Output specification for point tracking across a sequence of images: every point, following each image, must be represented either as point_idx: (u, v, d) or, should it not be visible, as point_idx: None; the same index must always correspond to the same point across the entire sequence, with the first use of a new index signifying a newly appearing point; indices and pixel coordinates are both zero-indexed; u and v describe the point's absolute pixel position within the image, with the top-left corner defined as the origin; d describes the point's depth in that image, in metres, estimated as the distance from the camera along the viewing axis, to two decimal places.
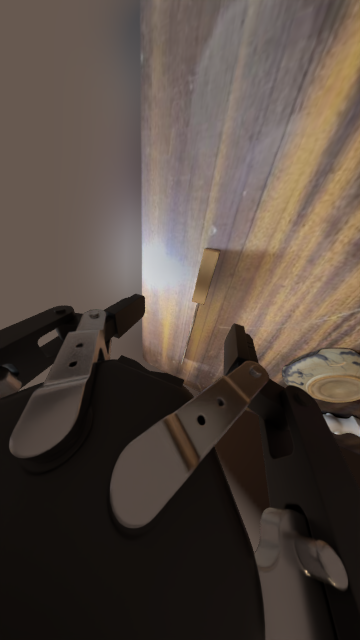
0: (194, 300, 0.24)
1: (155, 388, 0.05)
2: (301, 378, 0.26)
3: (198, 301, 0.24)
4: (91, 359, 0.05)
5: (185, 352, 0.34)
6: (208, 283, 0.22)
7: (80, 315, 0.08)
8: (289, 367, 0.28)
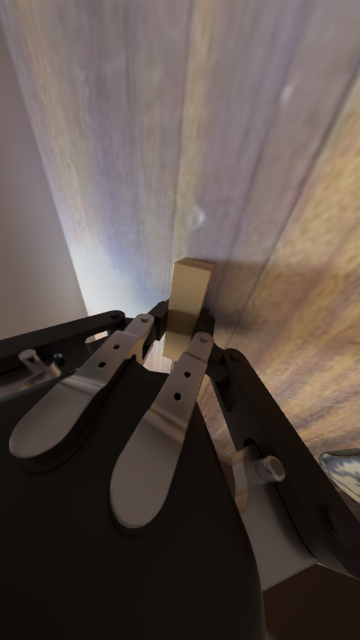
0: (166, 355, 0.13)
1: (155, 388, 0.05)
2: None
3: (174, 357, 0.12)
4: (116, 366, 0.05)
5: None
6: (190, 332, 0.10)
7: (128, 319, 0.09)
8: (338, 460, 0.16)
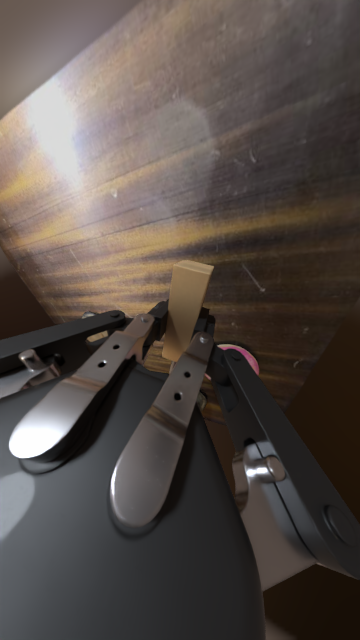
0: (166, 356, 0.13)
1: (155, 388, 0.05)
2: None
3: (173, 358, 0.13)
4: (116, 366, 0.05)
5: None
6: (189, 333, 0.10)
7: (128, 319, 0.09)
8: (89, 313, 0.40)
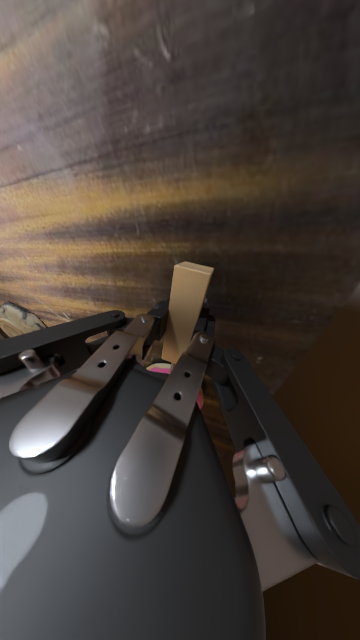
0: (165, 358, 0.13)
1: (155, 388, 0.05)
2: (1, 313, 0.30)
3: (173, 360, 0.12)
4: (116, 366, 0.05)
5: None
6: (189, 334, 0.10)
7: (128, 319, 0.09)
8: (7, 303, 0.30)
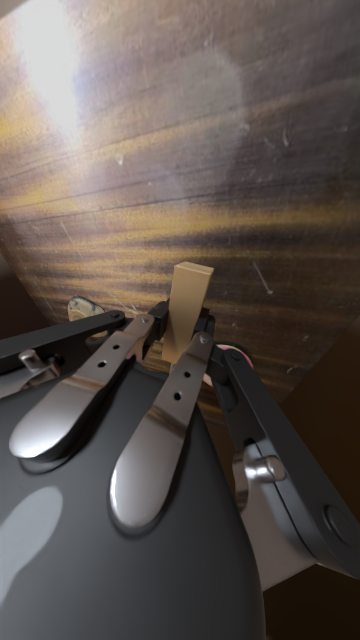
0: (165, 358, 0.13)
1: (155, 388, 0.05)
2: (73, 306, 0.36)
3: (173, 360, 0.12)
4: (116, 366, 0.05)
5: None
6: (189, 334, 0.10)
7: (128, 319, 0.09)
8: (77, 297, 0.36)
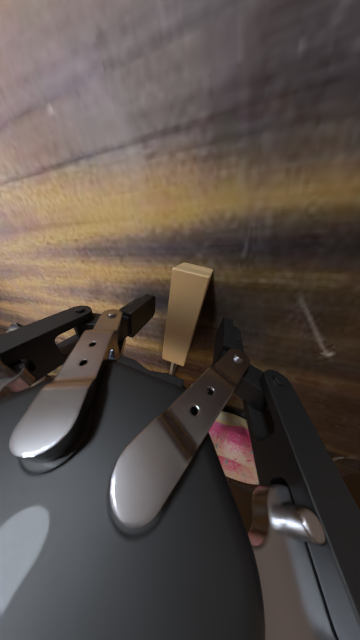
0: (166, 357, 0.13)
1: (155, 388, 0.05)
2: None
3: (173, 360, 0.13)
4: (100, 360, 0.05)
5: None
6: (188, 335, 0.10)
7: (97, 315, 0.08)
8: (15, 326, 0.25)
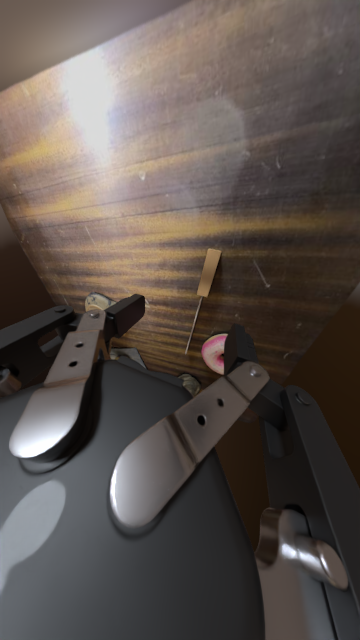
0: (199, 293, 0.28)
1: (155, 388, 0.05)
2: (91, 301, 0.40)
3: (202, 294, 0.28)
4: (91, 359, 0.05)
5: (189, 342, 0.38)
6: (211, 278, 0.25)
7: (80, 315, 0.08)
8: (95, 293, 0.40)
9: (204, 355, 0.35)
